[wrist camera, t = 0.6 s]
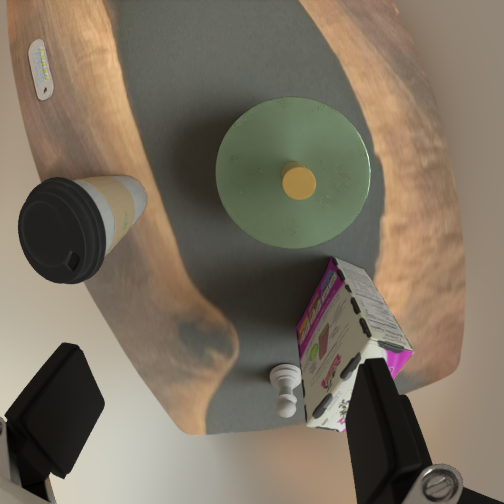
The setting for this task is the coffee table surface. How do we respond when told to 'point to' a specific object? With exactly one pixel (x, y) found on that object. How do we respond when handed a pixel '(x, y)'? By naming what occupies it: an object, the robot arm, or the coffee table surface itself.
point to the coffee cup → (77, 224)
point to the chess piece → (285, 387)
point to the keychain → (40, 69)
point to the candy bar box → (344, 341)
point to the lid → (292, 172)
